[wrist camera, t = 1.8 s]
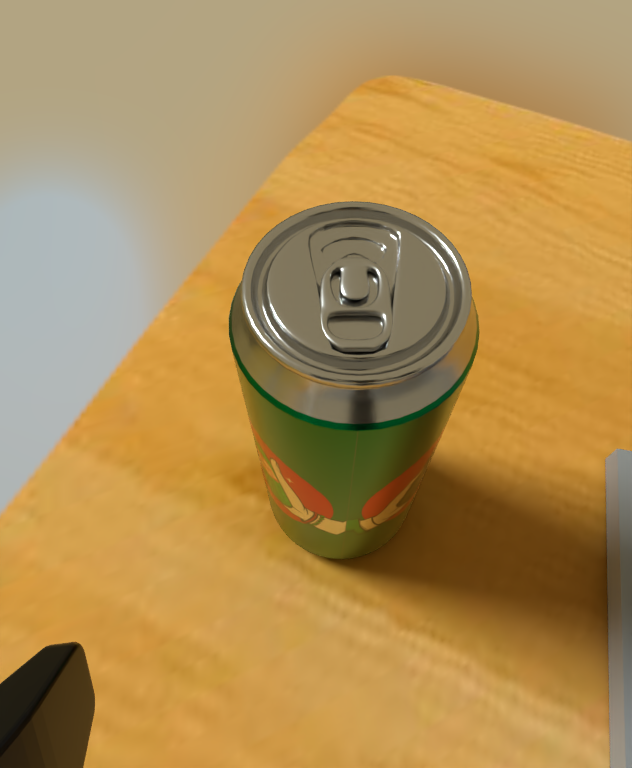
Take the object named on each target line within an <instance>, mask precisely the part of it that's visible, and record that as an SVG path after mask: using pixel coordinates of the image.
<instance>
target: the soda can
mask: <svg viewBox="0 0 632 768" xmlns="http://www.w3.org/2000/svg"><path fill="white" fill-rule="evenodd" d="M229 337H230V342H231V347H232V352H233V356H234V360H235V364H236V368H237V372H238V376H239V380H240V384H241V388H242V392H243V396H244V400H245V404H246V408H247V412H248V416H249V420H250V424H251V428H252V432H253V436H254V440H255V444H256V448H257V452H258V456H259V460H260V464H261V468H262V472H263V476H264V480H265V484H266V488H267V492H268V496H269V500H270V504H271V508H272V511H273V513H274V516H275V518H276V520H277V522H278V524H279V525H280V527H281V529H282V530H283V531H284V532H285V533H286V535H287V536H288V537H289V538H290V539H291V540H292V541H294V542H295V543H296V544H297V545H299V546H300V547H302V548H303V549H305V550H307V551H309V552H311V553H314V554H316V555H319V556H323V557H327V558H334V559H348V558H355V557H359V556H363V555H366V554H368V553H371V552H373V551H375V550H377V549H378V548H380V547H381V546H383V545H385V544H386V543H387V542H388V541H389V540H390V539H391V538H392V537H393V536H394V535H395V534H396V532H397V531H398V530H399V529H400V527H401V525H402V523H403V521H404V520H405V518H406V515H407V513H408V511H409V509H410V506H411V504H412V502H413V499H414V497H415V495H416V493H417V490H418V488H419V486H420V483H421V481H422V479H423V477H424V474H425V472H426V470H427V467H428V465H429V463H430V461H431V458H432V456H433V454H434V451H435V449H436V447H437V445H438V442H439V440H440V438H441V435H442V433H443V431H444V429H445V426H446V424H447V422H448V419H449V417H450V415H451V413H452V410H453V408H454V406H455V403H456V401H457V399H458V397H459V394H460V392H461V390H462V387H463V385H464V383H465V381H466V378H467V376H468V374H469V371H470V369H471V367H472V364H473V361H474V358H475V355H476V352H477V348H478V340H479V321H478V314H477V310H476V307H475V303H474V300H473V298H472V291H471V282H470V278H469V274H468V271H467V268H466V266H465V264H464V261H463V259H462V257H461V255H460V254H459V253H458V251H457V250H456V248H455V247H454V246H453V244H452V243H451V242H450V241H449V240H448V239H447V238H446V237H445V236H444V235H443V234H442V233H441V232H440V231H439V230H437V229H436V228H435V227H433V226H432V225H431V224H429V223H428V222H426V221H424V220H422V219H421V218H419V217H417V216H415V215H413V214H411V213H408V212H406V211H403V210H401V209H398V208H394V207H391V206H387V205H382V204H376V203H370V202H353V201H352V202H337V203H331V204H325V205H320V206H317V207H313V208H310V209H307V210H304V211H302V212H299V213H297V214H295V215H293V216H291V217H289V218H287V219H286V220H284V221H283V222H281V223H279V224H278V225H276V226H275V227H274V228H273V229H272V230H271V231H269V232H268V233H267V234H266V235H265V236H264V237H263V238H262V240H261V241H260V242H259V243H258V244H257V245H256V247H255V249H254V250H253V252H252V253H251V255H250V257H249V259H248V262H247V264H246V267H245V269H244V273H243V278H242V281H241V283H240V284H239V286H238V288H237V290H236V293H235V296H234V298H233V301H232V304H231V309H230V315H229Z"/></svg>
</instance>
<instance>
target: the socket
mask: <svg viewBox="0 0 632 768" xmlns="http://www.w3.org/2000/svg"><path fill="white" fill-rule="evenodd" d="M605 462H606V527H607V591H608V656H609V721H610V768H632V451H627V450H622V449H616V450H615V451H614V452H613V453H612V454H611V455H609V456H608V457H607V458H606V459H605Z"/></svg>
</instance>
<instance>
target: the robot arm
mask: <svg viewBox="0 0 632 768" xmlns="http://www.w3.org/2000/svg"><path fill="white" fill-rule="evenodd" d="M94 710H95V694H94V689H93V685H92V681H91V677H90V673H89V668H88V664H87V660H86V656H85V652H84V649H83V647H82V646H81V644H79V643H77V642H70V643H62V644H54V645H49V646H46V647H45V648H43V649H42V650H41V651H39V652H38V653H37V654H36V655H35V656H33V657H32V658H31V659H30V660H28V661H27V662H26V663H25V664H24V665H22V666H21V667H20V668H19V669H18V670H16V671H15V672H14V673H13V674H12V675H10V676H9V677H8V678H7V679H5V680H4V681H3V682H2V683H1V684H0V768H83V766H84V761H85V756H86V751H87V746H88V741H89V736H90V731H91V726H92V721H93V716H94Z"/></svg>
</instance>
